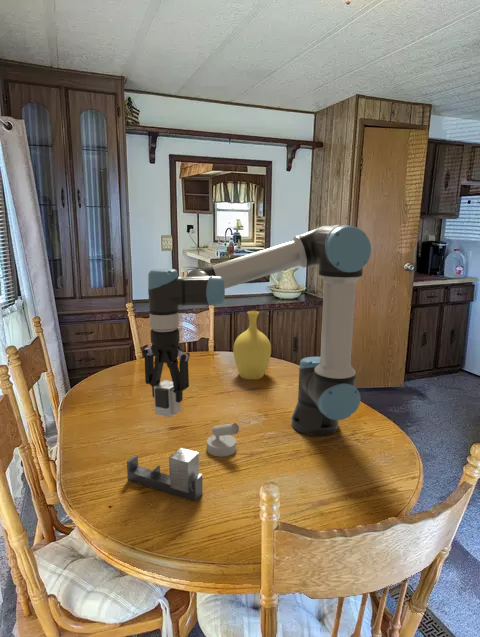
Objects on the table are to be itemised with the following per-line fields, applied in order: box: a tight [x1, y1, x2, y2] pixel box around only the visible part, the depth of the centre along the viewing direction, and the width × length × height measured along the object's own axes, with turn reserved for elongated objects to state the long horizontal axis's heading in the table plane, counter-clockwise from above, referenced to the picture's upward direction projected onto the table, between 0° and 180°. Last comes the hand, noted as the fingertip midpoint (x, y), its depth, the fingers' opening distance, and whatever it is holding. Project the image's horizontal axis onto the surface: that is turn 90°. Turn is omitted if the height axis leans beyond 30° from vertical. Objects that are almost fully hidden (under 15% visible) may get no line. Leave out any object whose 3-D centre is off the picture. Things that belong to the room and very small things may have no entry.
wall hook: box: [206, 422, 240, 457], centre depth 127 cm, size 9×10×10 cm
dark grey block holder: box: [126, 447, 203, 503], centre depth 108 cm, size 20×5×10 cm, turn 65°
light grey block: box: [153, 379, 182, 418], centre depth 119 cm, size 6×5×8 cm
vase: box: [232, 310, 272, 380], centre depth 186 cm, size 16×16×28 cm
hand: (167, 410), depth 120 cm, fingers closed on light grey block, 5 cm apart
